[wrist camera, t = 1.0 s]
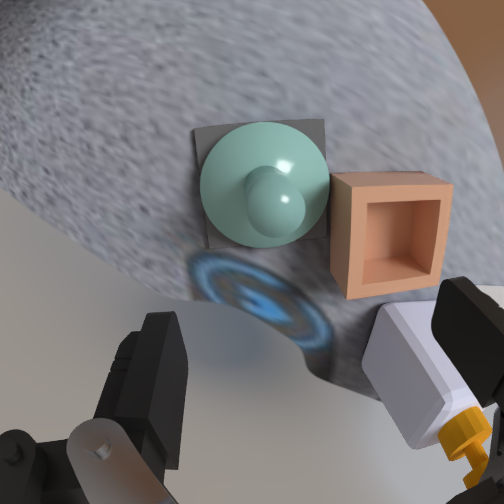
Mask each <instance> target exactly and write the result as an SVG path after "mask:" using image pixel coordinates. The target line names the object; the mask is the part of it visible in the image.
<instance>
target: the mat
mask: <svg viewBox="0 0 504 504" xmlns="http://www.w3.org/2000/svg"><path fill="white" fill-rule="evenodd" d="M264 122H274V123H280V124H284V125H287V126H290V127H292V128H294V129H296V130H298V131H300V132H301V133H303V134H304V135H306V136H307V137H308V138H309V139H310V140H311V141H312V142H313V143H314V144H315V145H316V146H317V147H318V149H319V150H320V152H321V153H322V155H323V157H324V159H325V162H326V152H325V128H324V119H306V120H281V121H264ZM250 123H256V122H250ZM250 123H239V124H228V125H219V126H210V127H202V128H194V132H195V141H196V149H197V158H198V167H199V175H200V177H201V173H202V168H203V166H204V163H205V160H206V159H207V157H208V155H209V153H210V151H211V150H212V149H213V147H214V146H215V145H216V143H217V142H218V141H219V140H220V139H221V138H223V137H224V136H225V135H226V134H228V133H229V132H231V131H232V130H234V129H236V128H238V127H241V126H243V125H246V124H250ZM204 214H205V221H206V228H207V235H208V242H209V249H213V248H223V247H234V246H244V245H242V244H240V243H237V242H235V241H233V240H231V239H230V238H228V237H226V236H225V235H224V234H223V233H221V232H220V231H219V230H218V229H217V228H216V227H215V226H214V225H213V223H212V222H211V220H210V219H209V217H208V216H207V214H206V212H205V209H204ZM326 233H327V203H326V207H325V209H324V211H323V213H322V215H321V216H320V218H319V220H318V221H317V222H316V223H315V225H314V226H313V227H312V228H311V229H310V230H309V231H308V232H307V233H305V234H304V235H303V236H301V237H300V238H298V239H296V240H306V239H316V238H326Z"/></svg>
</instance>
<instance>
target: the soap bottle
mask: <svg viewBox="0 0 504 504" xmlns="http://www.w3.org/2000/svg"><path fill="white" fill-rule="evenodd" d="M435 304H436V300H428V301H408V302H389V303H386V304H383V305H382V306H381V308H380V309H379V310H378V313H377V316H376V320H375V323H374V326H373V329H372V332H371V335H370V338H369V341H368V344H367V347H366V350H365V353H364V355H363V358H362V369H363V371H364V373H365V374H366V376H367V377H368V379H369V381H370V382H371V384H372V386H373V387H374V389H375V391H376V392H377V394H378V395H379V397H380V399H381V400H382V402H383V404H384V405H385V407H386V409H387V410H388V412H389V414H390V415H391V417H392V419H393V420H394V422H395V423H396V425H397V427H398V429H399V431H400V432H401V434H402V436H403V437H404V439H405V440H406V442H407V444H408V445H409V446H410V447H411V448H412V449H421V448H424V447H428V446H431V445H434V444H437V443H441V445H442V447H443V449H444V451H445V453H446V455H447V457H448V459H449V461H454V460H457V459H460V458H462V457H464V456H466V457H467V459H468V461H469V463H470V465H471V467H472V469H473V470H472V471H471V472H469V473H468V474H467V475H466V476H465V477H464V478H463V481H464V484H465V486H466V488H467V490H468V489H470V488H472V487H473V486H475V485H477V484H478V482H479V480H480V478H481V476H482V474H483V473H484V471H485V469H486V467H487V464H488V461H489V458H488V456H487V454H486V452H485V450H484V449H483V447H482V445H481V444H482V443H483V442H484V441H485V440H486V439H487V438H488V437H489V436H490V434H491V433H492V427H491V426H490V424H489V423H488V421H487V419H486V418H485V416H484V415H483V413H482V412H483V410H484V409H485V408H483V409H482V407H481V405H480V404H479V402H478V401H477V399H476V398H475V396H474V395H473V393H472V392H471V390H470V389H469V387H468V386H467V384H466V383H465V381H464V380H463V378H462V377H461V375H460V374H459V372H458V371H457V369H456V368H455V367H454V365H453V364H452V362H451V361H450V359H449V358H448V357H447V355H446V354H445V352H444V351H443V350H442V348H441V347H440V346H439V344H438V343H437V341H436V340H435V339H434V337H433V335H432V331H431V319H432V315H433V312H434V308H435Z"/></svg>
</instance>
